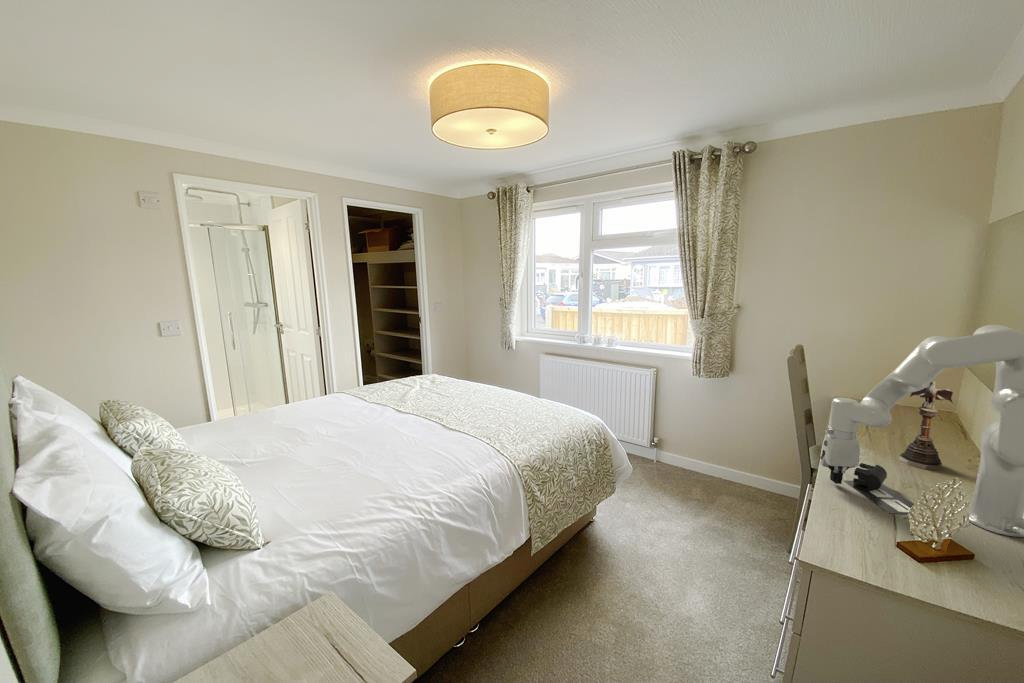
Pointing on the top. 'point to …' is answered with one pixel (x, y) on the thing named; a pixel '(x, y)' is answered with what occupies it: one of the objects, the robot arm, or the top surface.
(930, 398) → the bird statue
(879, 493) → the far label
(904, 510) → the near label
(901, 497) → the label panel
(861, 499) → the top surface
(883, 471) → the end cap
